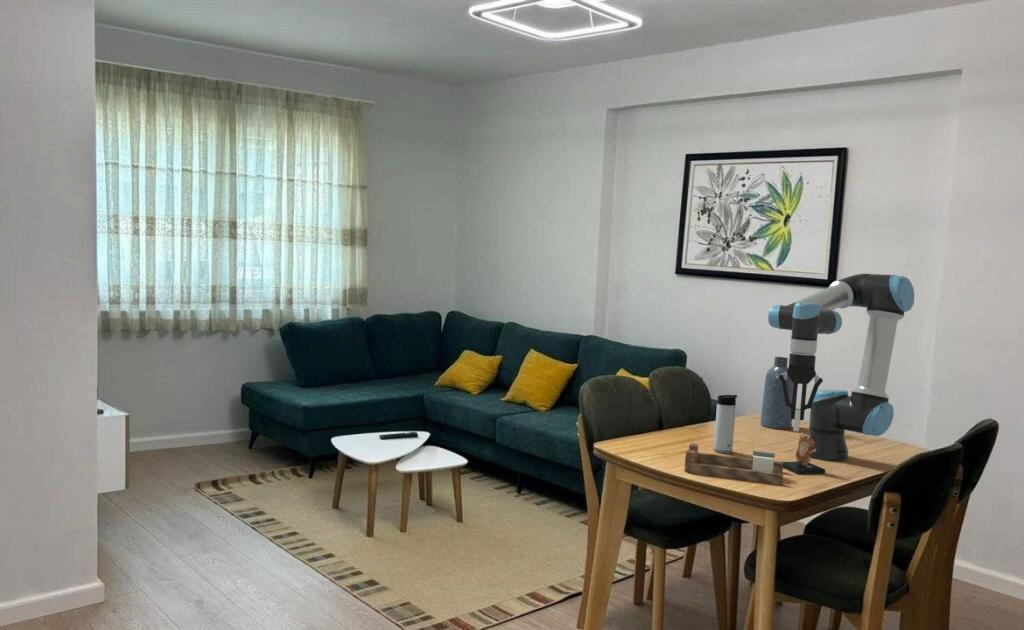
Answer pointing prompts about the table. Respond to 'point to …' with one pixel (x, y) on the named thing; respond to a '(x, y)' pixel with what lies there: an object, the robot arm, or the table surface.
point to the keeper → (763, 461)
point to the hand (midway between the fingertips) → (796, 430)
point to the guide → (728, 472)
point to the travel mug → (725, 424)
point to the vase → (776, 397)
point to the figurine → (804, 458)
